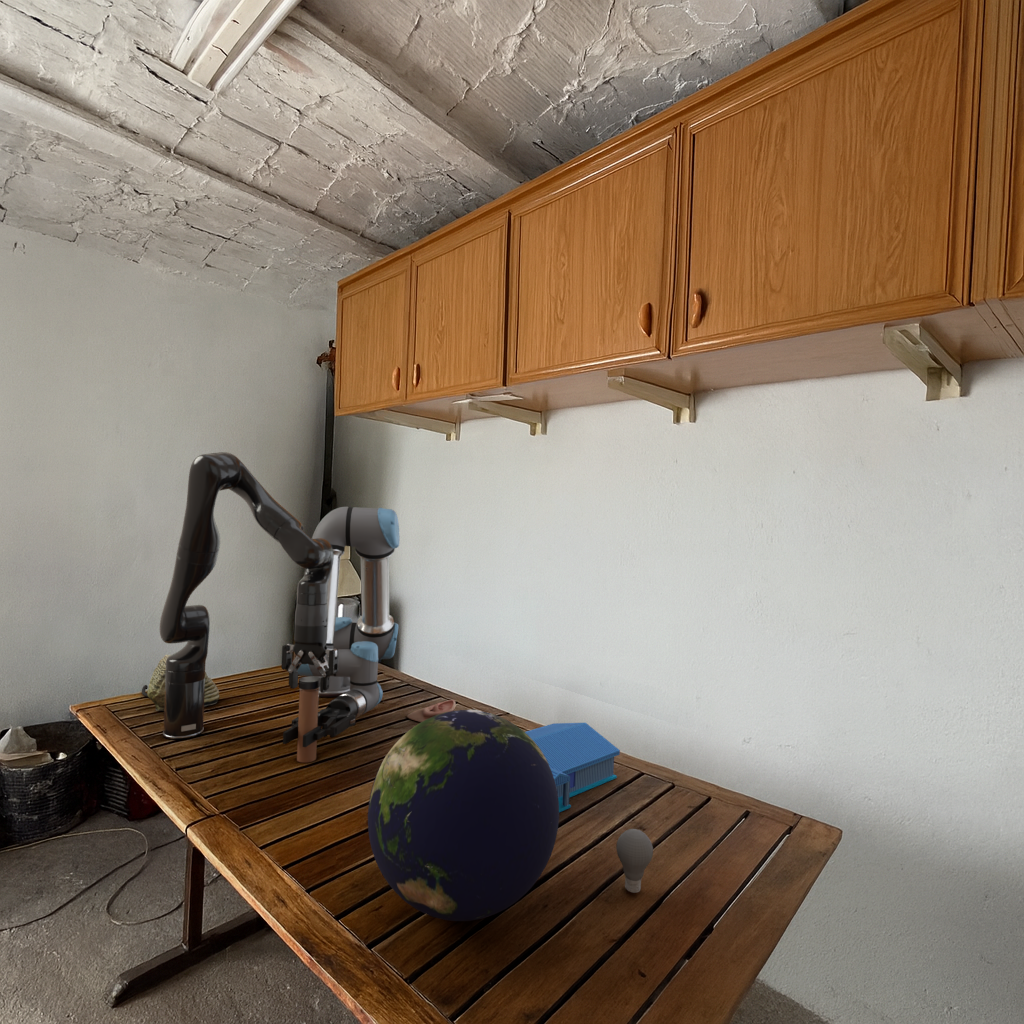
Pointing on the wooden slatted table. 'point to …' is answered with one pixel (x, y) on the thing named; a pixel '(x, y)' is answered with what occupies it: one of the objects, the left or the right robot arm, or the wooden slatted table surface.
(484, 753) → the globe
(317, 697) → the brown rounded cylinder
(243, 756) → the wooden slatted table surface
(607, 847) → the wooden slatted table surface
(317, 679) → the lid
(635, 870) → the light bulb
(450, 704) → the anatomical model
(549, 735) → the model building
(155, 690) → the fossil
